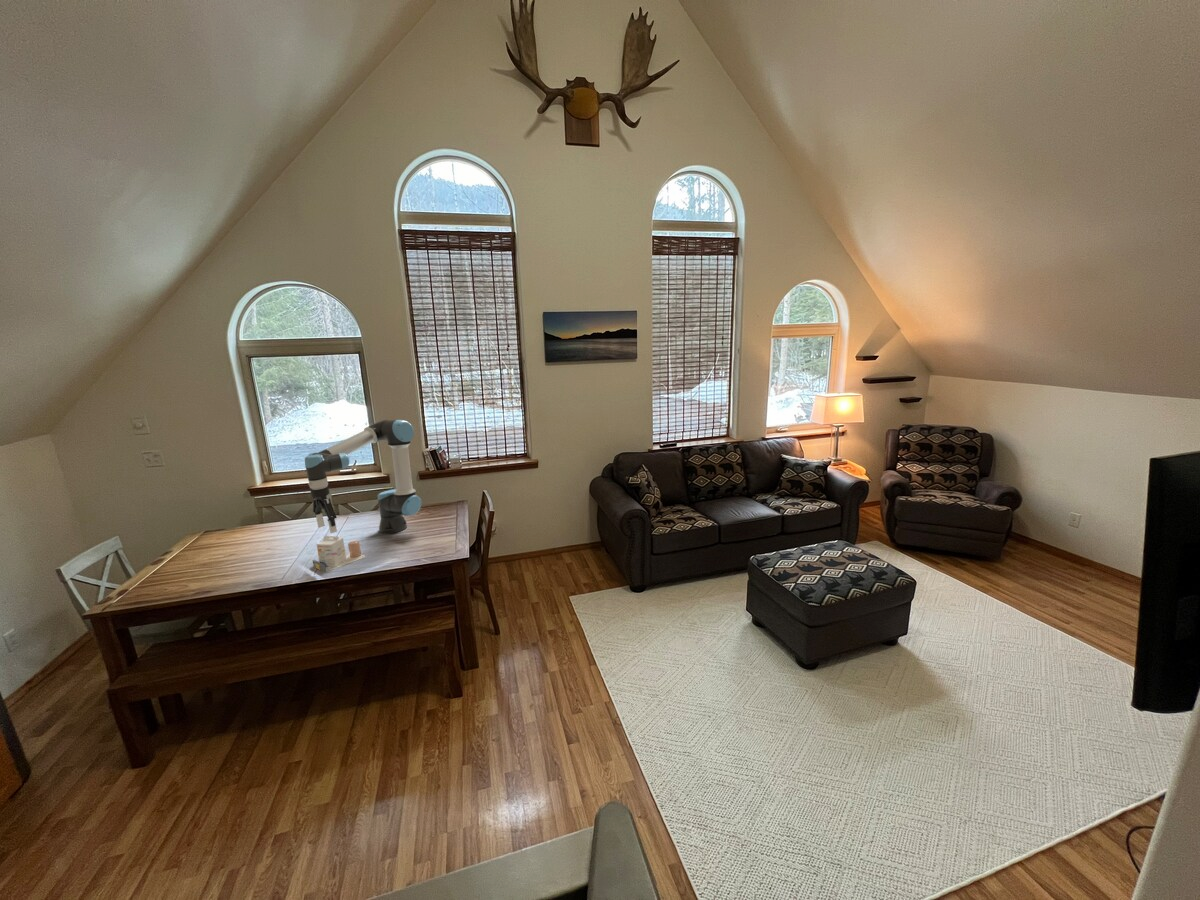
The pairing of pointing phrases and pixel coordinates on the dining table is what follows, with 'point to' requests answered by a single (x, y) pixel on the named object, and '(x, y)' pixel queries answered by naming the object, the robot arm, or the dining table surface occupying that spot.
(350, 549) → the tan glossy oval piece
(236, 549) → the dining table surface
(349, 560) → the shelf board
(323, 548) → the ink box
